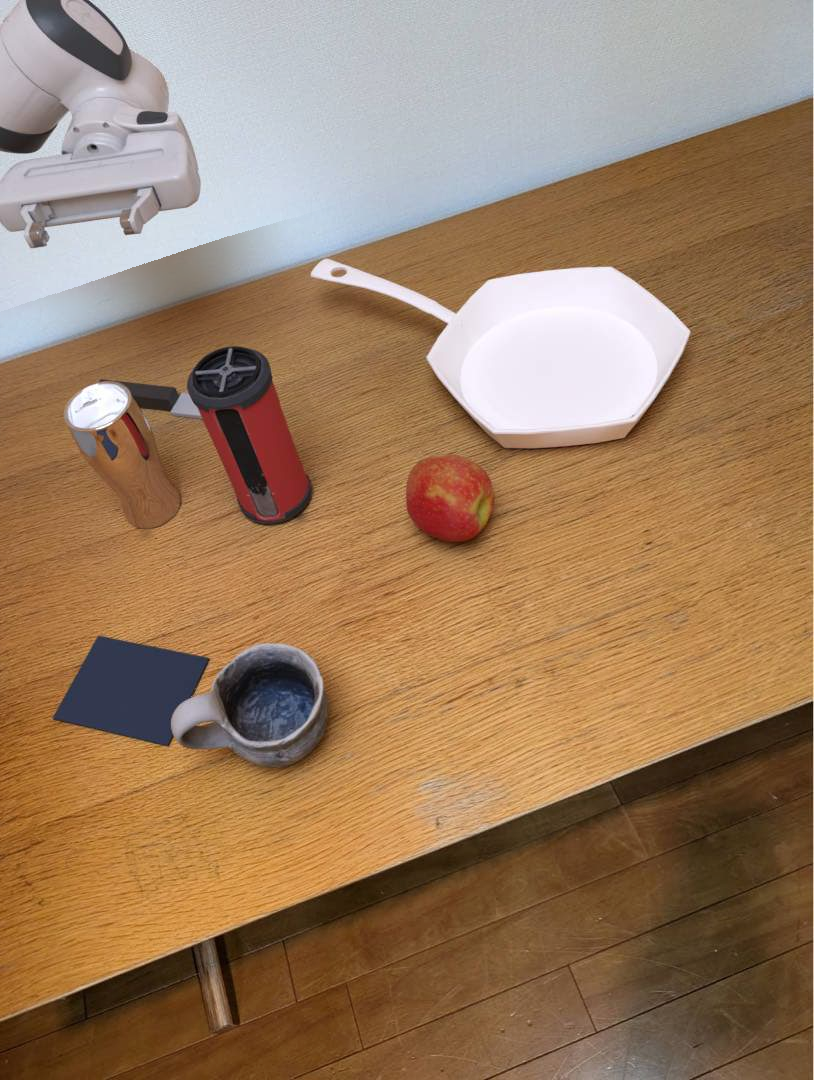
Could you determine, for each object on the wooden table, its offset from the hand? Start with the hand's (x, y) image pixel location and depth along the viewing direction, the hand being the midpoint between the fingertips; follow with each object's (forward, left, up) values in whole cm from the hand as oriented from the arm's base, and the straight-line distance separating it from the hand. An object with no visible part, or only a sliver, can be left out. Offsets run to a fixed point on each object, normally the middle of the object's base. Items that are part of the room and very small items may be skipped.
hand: (81, 235), depth 93 cm
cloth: (+12, -33, -25) cm, 43 cm away
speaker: (+17, -9, -25) cm, 31 cm away
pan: (+33, +15, -25) cm, 44 cm away
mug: (+27, -35, -25) cm, 50 cm away
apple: (+36, -9, -25) cm, 44 cm away
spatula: (-2, +2, -25) cm, 25 cm away
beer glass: (+4, -12, -25) cm, 28 cm away
